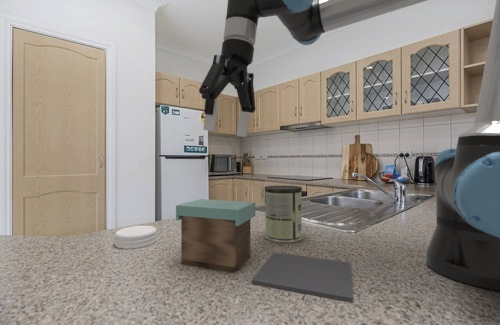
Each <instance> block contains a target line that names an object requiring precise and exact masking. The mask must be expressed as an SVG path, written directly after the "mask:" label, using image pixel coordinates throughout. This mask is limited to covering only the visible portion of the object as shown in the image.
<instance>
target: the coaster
mask: <svg viewBox="0 0 500 325" xmlns="http://www.w3.org/2000/svg"><path fill="white" fill-rule="evenodd" d="M157 232H158V229H157V228H156V227H155V226H152V225H135V226H133V225H132V226H129V227H125V228H121V229H118V230H117V231H116V232H115V234H114V237H115V238H114V245H115V247H116V248H118V249H121V248H122V250H123V249H124V250H133V249H135V250H136V249H140V248H141V249H142V248H144V247H145V248H146V247H149V246H151V245H154V244H155V243H156V242H157V240H158V237H157V236H158V233H157Z"/></svg>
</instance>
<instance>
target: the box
mask: <svg viewBox="0 0 500 325" xmlns="http://www.w3.org/2000/svg"><path fill="white" fill-rule="evenodd" d="M180 221H181V225H180V228H181V234H180V235H181V238H180V239H181V247H180V248H181V250H180V251H181V253H180V254H181V257H180V258H181V263H180V264H182V265H187V266H193V267H198V268H199V267H200V268H205V269H209V270H216V271H222V272H228V273H236V272H237V271H238V270H239V269H240V268H241V267H242V266H243V265H244V264H245V263H246V262H247V261H248V260H249V259H250V258H251V219H249V220H248V221H246V222H244V223H243V224H241V225H239V226H235V220H225V219H213V218H202V217H191V216H181V220H180Z"/></svg>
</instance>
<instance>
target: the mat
mask: <svg viewBox="0 0 500 325" xmlns="http://www.w3.org/2000/svg"><path fill="white" fill-rule="evenodd" d="M352 282H353V280H352V269H351V262H350V261H349V262H348V261H341V260H333V259H326V258H318V257H312V256H304V255H297V254H288V253H280V252H273V253H271V255H270V256H269V257H268V259H267V260H265V263H263V265H262V267H260V269H259V271H257V272H256V274H255V275H254V276H253V278H252V279H251V284H252V285H256V286H257V285H258V286H263V287H267V288H268V287H269V288H275V289H278V290H279V289H280V290H283V291H285V290H286V291H290V292H296V293H302V294H306V295H311V296H316V297H323V298H327V299H328V298H329V299H332V300H339V301H343V302H349V303H354V297H353V296H354V295H353V283H352Z"/></svg>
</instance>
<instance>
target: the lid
mask: <svg viewBox="0 0 500 325" xmlns="http://www.w3.org/2000/svg"><path fill="white" fill-rule="evenodd" d="M181 216H191V217H202V218H213V219H225V220H235V226H239V225H241V224H243V223H244V222H246V221H248V220H249V219H250V220H251V219H253V218H255V217H256V202H255V201H241V200H240V201H239V200H237V201H235V200H220V199H219V200H218V199H203V198H202V199H196V200H193V201H189V202H188V201H187V202H185V203H181V204H176V205H175V221H181Z"/></svg>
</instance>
